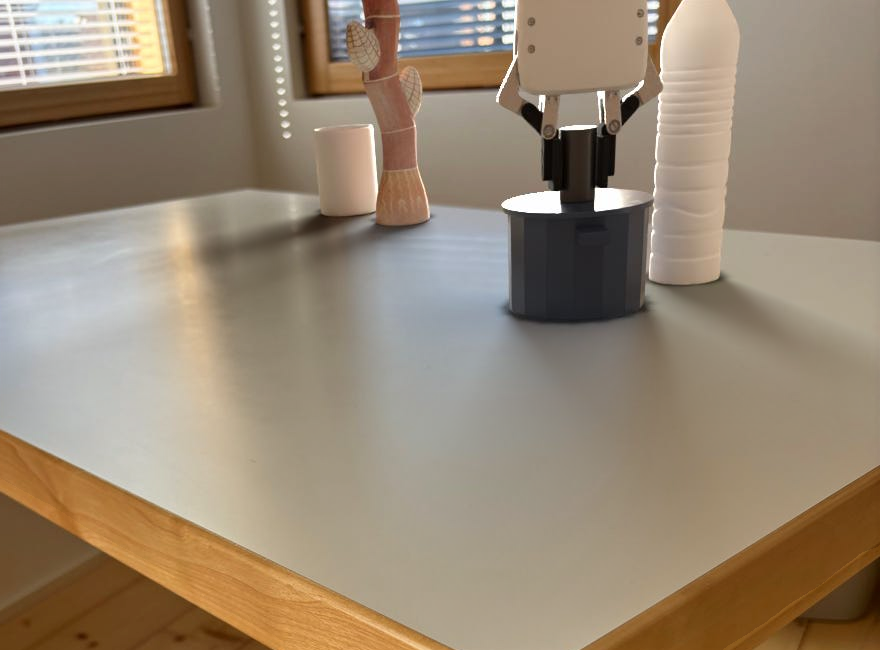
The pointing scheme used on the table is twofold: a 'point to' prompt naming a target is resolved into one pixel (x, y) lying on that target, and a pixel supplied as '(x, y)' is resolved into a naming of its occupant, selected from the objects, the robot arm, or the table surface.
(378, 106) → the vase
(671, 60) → the water bottle
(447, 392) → the table surface
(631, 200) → the lid
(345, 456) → the table surface
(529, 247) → the pot
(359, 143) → the mug
